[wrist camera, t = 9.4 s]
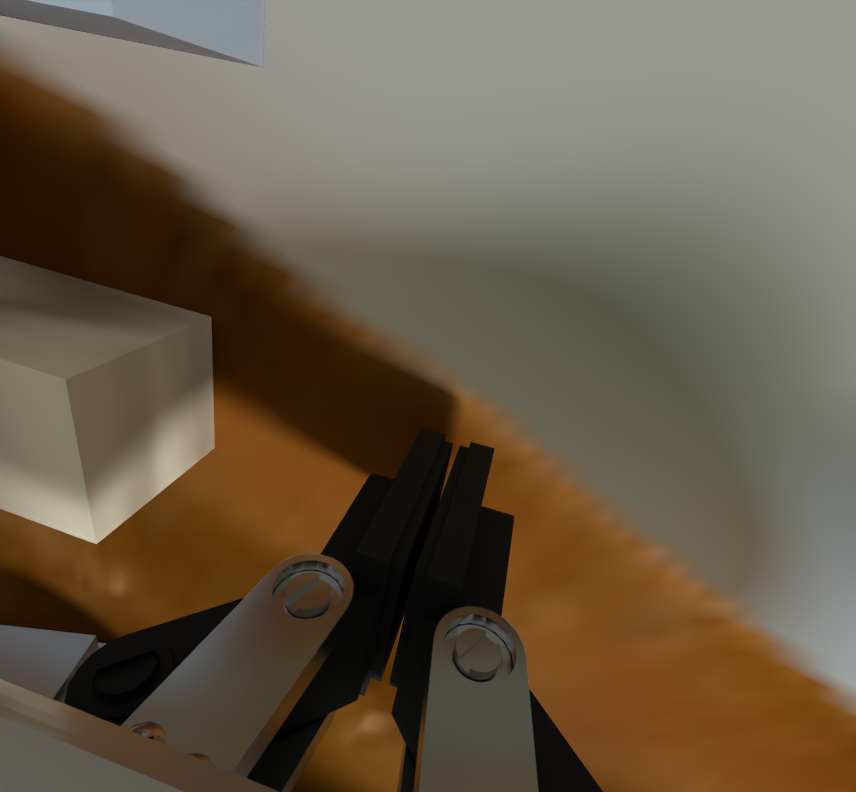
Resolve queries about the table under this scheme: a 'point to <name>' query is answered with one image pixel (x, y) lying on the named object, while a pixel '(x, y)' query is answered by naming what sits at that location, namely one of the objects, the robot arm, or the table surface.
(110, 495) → the t block
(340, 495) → the table surface
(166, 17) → the fence
